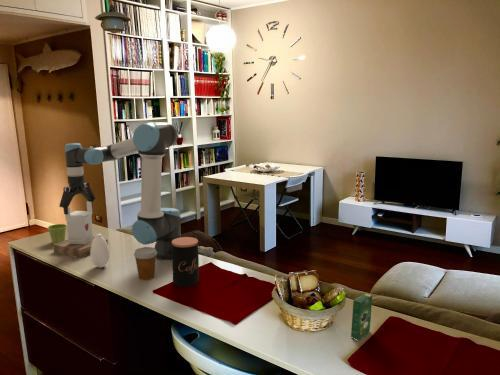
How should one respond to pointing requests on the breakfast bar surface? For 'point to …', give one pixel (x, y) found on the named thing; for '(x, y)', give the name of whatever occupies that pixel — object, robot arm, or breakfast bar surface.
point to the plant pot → (57, 232)
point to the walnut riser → (74, 248)
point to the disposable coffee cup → (145, 262)
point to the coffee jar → (185, 261)
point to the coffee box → (361, 316)
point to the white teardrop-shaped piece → (99, 251)
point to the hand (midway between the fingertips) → (79, 217)
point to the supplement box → (80, 227)
